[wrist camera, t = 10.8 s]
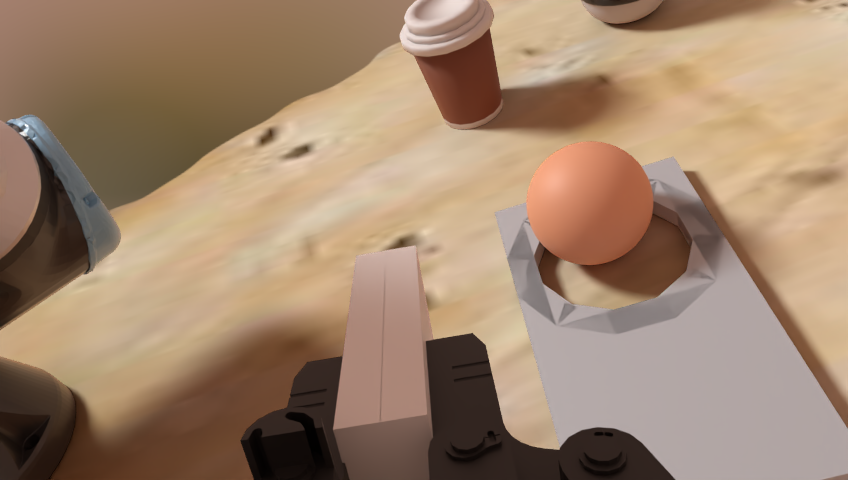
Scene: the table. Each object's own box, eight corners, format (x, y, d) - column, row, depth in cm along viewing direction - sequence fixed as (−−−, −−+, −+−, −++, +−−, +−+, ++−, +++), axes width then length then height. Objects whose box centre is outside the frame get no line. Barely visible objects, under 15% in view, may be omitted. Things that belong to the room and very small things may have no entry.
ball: (489, 179, 47) (532, 293, 49) (611, 143, 42) (654, 272, 43) (535, 147, 54) (571, 248, 56) (643, 113, 49) (680, 225, 51)
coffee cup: (474, 147, 65) (438, 40, 57) (414, 124, 71) (374, 24, 63) (534, 94, 68) (508, -15, 60) (471, 76, 74) (440, -25, 66)
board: (868, 480, 35) (872, 467, 34) (588, 545, 37) (584, 535, 36) (674, 170, 55) (673, 156, 54) (498, 224, 57) (494, 212, 56)
